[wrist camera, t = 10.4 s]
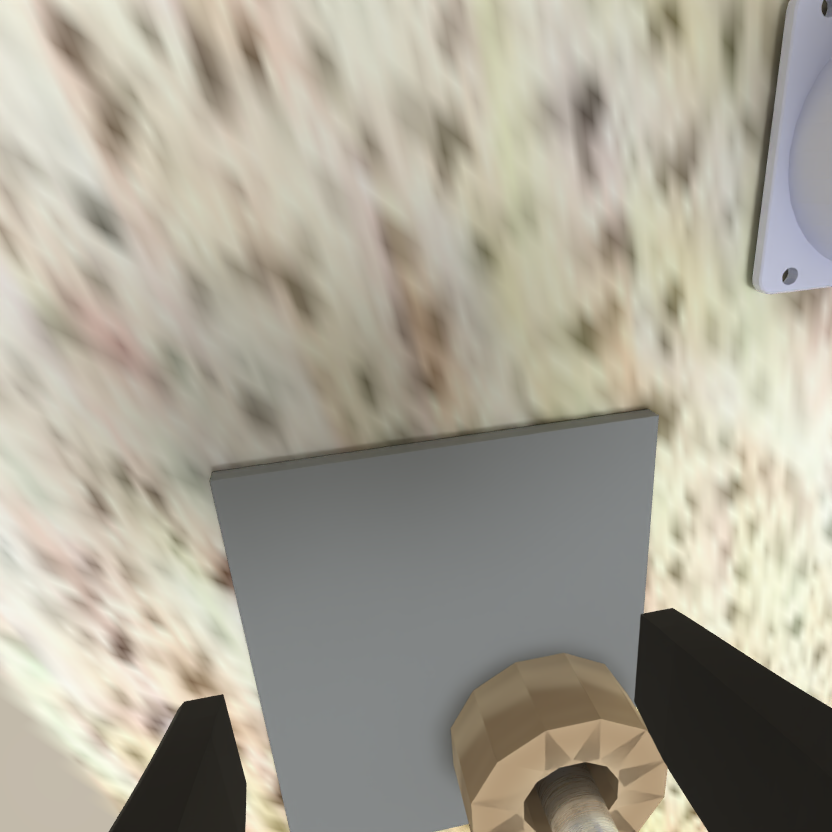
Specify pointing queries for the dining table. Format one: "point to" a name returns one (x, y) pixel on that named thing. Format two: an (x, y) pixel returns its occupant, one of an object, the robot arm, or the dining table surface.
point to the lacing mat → (428, 598)
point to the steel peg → (574, 801)
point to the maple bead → (553, 744)
